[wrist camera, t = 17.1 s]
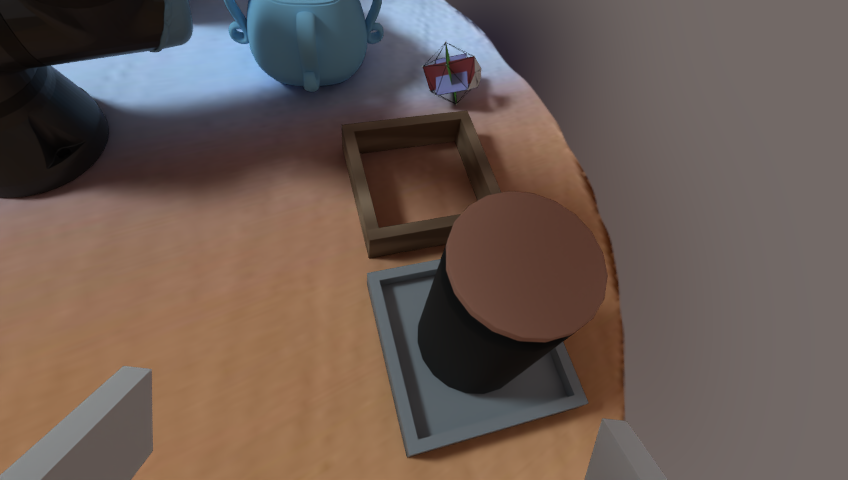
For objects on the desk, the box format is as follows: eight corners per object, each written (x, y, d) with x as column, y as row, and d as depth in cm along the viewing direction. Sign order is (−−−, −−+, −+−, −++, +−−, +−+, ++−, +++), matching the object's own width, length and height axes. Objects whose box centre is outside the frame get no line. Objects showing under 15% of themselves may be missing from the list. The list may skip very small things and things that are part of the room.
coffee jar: (525, 301, 48) (606, 207, 32) (518, 407, 42) (611, 356, 27) (425, 280, 47) (458, 175, 32) (406, 384, 42) (433, 319, 27)
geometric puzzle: (409, 94, 59) (456, 57, 54) (410, 58, 62) (454, 20, 57) (448, 122, 63) (494, 91, 58) (447, 87, 66) (490, 54, 61)
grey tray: (366, 283, 48) (367, 273, 45) (515, 253, 52) (522, 243, 49) (406, 457, 40) (409, 455, 38) (577, 407, 44) (588, 403, 42)
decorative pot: (223, 51, 61) (190, -54, 50) (316, 5, 68) (307, -97, 56) (304, 120, 57) (289, 24, 46) (394, 64, 64) (401, -33, 52)
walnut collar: (342, 147, 56) (341, 124, 52) (461, 132, 59) (467, 110, 56) (368, 258, 49) (369, 240, 46) (500, 234, 53) (510, 215, 49)
